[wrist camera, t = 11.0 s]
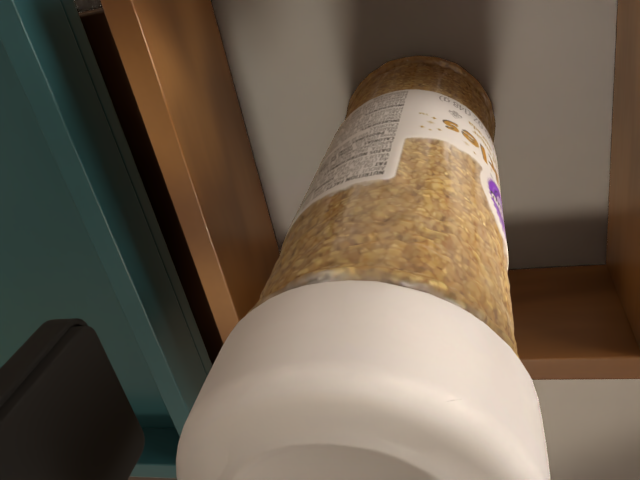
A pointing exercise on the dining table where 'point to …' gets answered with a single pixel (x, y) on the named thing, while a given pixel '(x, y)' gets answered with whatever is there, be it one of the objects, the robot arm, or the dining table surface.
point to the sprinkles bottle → (382, 310)
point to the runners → (150, 178)
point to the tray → (87, 226)
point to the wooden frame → (256, 228)
